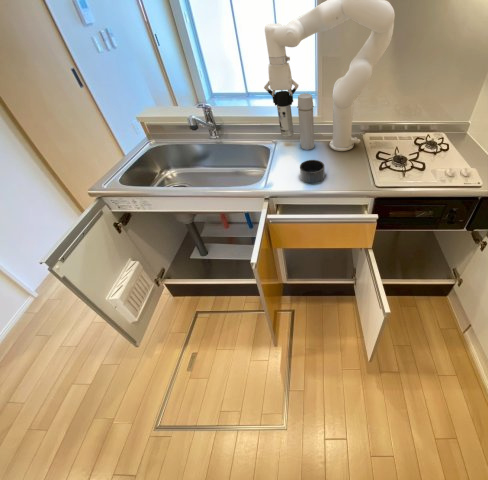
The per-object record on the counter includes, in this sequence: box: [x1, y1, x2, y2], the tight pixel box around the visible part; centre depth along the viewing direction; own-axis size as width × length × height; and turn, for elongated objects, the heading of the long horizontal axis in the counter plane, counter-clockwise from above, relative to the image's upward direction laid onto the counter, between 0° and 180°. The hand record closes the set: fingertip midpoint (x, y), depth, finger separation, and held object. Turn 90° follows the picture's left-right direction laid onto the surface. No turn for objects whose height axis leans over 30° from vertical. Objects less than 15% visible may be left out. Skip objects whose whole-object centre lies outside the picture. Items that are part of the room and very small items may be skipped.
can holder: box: [299, 159, 326, 185], centre depth 118 cm, size 11×11×6 cm
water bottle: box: [296, 93, 315, 151], centre depth 131 cm, size 9×8×25 cm
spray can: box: [275, 90, 295, 138], centre depth 131 cm, size 7×7×20 cm
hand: (283, 103), depth 128 cm, fingers closed on spray can, 6 cm apart
